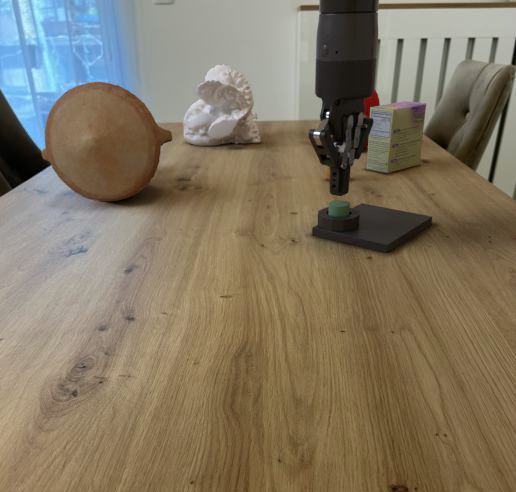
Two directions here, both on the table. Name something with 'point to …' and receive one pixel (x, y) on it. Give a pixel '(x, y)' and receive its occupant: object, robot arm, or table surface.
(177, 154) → the table surface
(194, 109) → the white sculpted figurine
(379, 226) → the dark grey button base
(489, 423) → the table surface
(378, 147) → the box
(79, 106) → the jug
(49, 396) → the table surface
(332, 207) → the button
